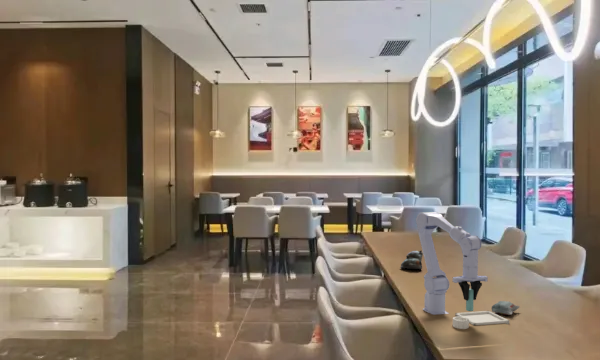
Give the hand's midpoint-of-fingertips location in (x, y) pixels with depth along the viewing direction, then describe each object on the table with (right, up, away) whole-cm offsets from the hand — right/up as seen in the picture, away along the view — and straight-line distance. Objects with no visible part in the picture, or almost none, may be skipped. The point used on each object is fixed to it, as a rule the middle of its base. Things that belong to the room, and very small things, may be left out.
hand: (469, 299), depth 200 cm
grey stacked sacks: (+2, -8, +111) cm, 112 cm away
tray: (+7, -10, +6) cm, 14 cm away
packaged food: (+21, -10, +16) cm, 29 cm away
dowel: (0, -4, 0) cm, 4 cm away
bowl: (-5, -10, -4) cm, 12 cm away
